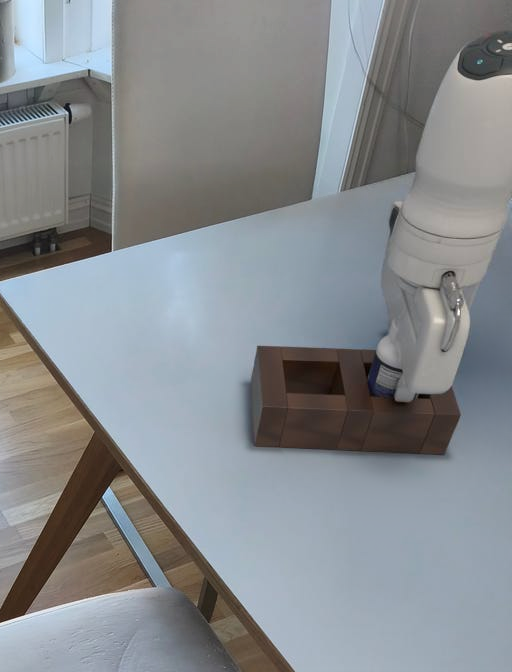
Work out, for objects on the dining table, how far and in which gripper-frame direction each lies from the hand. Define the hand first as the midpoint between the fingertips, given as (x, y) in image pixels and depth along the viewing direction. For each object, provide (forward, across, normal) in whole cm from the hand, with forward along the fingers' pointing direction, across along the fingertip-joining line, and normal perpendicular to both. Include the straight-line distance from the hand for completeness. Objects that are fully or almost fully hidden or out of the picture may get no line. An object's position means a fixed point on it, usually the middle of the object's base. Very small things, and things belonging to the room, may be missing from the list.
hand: (396, 377), depth 91 cm
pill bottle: (+4, 0, 0) cm, 4 cm away
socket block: (+5, 0, +4) cm, 7 cm away
